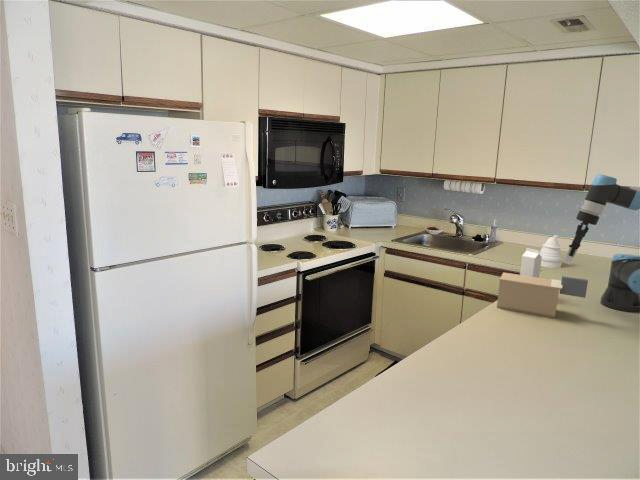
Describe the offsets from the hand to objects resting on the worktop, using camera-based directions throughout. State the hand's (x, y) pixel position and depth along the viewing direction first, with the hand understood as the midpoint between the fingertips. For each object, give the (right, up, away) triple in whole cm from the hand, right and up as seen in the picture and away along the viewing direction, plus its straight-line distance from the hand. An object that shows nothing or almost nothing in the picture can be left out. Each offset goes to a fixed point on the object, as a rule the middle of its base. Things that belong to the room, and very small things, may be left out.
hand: (567, 261), depth 185 cm
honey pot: (+33, -6, +79) cm, 86 cm away
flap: (-10, -12, +1) cm, 16 cm away
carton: (-15, -20, +5) cm, 25 cm away
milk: (-7, -17, +22) cm, 28 cm away
